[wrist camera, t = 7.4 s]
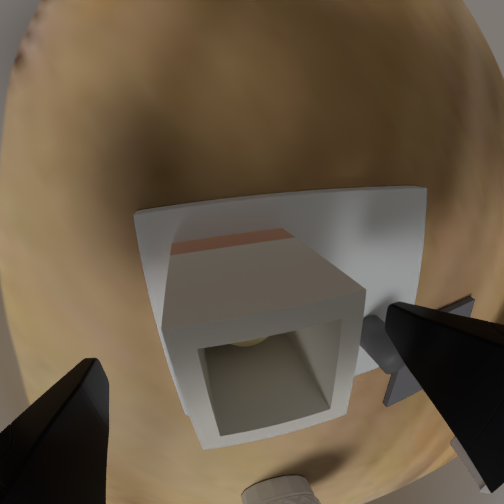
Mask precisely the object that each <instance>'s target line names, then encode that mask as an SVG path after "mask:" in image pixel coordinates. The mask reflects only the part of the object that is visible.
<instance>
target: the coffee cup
mask: <svg viewBox="0 0 504 504" xmlns="http://www.w3.org/2000/svg"><path fill="white" fill-rule="evenodd" d="M450 444H451V446H452V447H453V449H454V450H455V452H456V453H457V455H458V456H459V457H460V459H461V460H462V462H463V463H464V465H465V466H466V468H467V469H468V471H469V472H470V473H471V475H472V477H473V478H474V480H475V481H476V483H477V484H478V486H479V488H480V490H479V492H482V493H483V492H485V493H487V494H489V493H490V491H489V490H488V488H487V486H486V484H485V483H484V481H483V479H482V478H481V476H480V474H479V473H478V471H477V469H476V468H475V466H474V465H473V463H472V461H471V460H470V458H469V457H468V455H467V453H466V451H465V450H464V448H463V447H462V445H461V444H460V442H459V441H458V439H457V438H456V436H455V437H454V438H453V440H452V441H451V443H450Z"/></svg>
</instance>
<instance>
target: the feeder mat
mask: <svg viewBox="0 0 504 504" xmlns="http://www.w3.org/2000/svg"><path fill="white" fill-rule="evenodd" d="M474 301H475V299H473V298H472V297H468V298H466V299H464V300H461V301H459V302H457V303H455V304H453V305H450V306H448V307H446V308H443V309H441V310H439V311H444V312H448V313H452V314H457V315H461V316H466V317H470V315H471V312H472V308H473V305H474ZM420 390H422V387H421V386H420V384H419V383H418V382H417V380H416V379H415V378H414V376H413V375H412V373H411V372H410V371H409V369H408V368H407V366H406V365H404V366H403V367H402V368H401V369H400V370H399V371H397V372H395V373H393V374H392V375H391V379H390V382H389V385H388V388H387V392H386V395H385V398H384V401H383V404H384V405H385V406H386V407H388V406H390V405H392V404H394V403H397V402H399V401H401V400H403V399H405V398H407V397H409V396H411V395H412V394H414V393H416V392H418V391H420Z"/></svg>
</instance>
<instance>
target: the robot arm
mask: <svg viewBox="0 0 504 504" xmlns="http://www.w3.org/2000/svg"><path fill="white" fill-rule="evenodd" d="M384 328H385V332H386V334H387V335H388V337H389V339H390V340H391V342H392V344H393V345H394V347H395V349H396V350H397V352H398V354H399V355H400V357H401V359H402V360H403V362H404V363H405V365H406V366H407V368H408V369H409V371H410V372H411V373H412V375H413V376H414V378H415V379H416V380H417V382H418V383H419V384H420V386H421V387H422V389H423V390H424V391H425V393H426V394H427V396H428V397H429V398H430V400H431V401H432V403H433V404H434V405H435V407H436V408H437V410H438V411H439V413H440V414H441V416H442V417H443V418H444V420H445V421H446V423H447V424H448V426H449V427H450V429H451V430H452V432H453V433H454V435H455V436H456V438H457V439H458V441H459V442H460V444H461V445H462V447H463V448H464V450H465V451H466V453H467V455H468V457H469V458H470V460H471V461H472V463H473V465H474V466H475V468H476V469H477V471H478V473H479V474H480V476H481V478H482V479H483V481H484V483H485V484H486V486H487V488H488V490H489V491H490V492H491V493H493V492H494V491H495V490H496V489H497V488H498V487H500V486H501V485H502V484H503V483H504V325H502V324H497V323H493V322H490V323H489V322H488V321H483V320H479V319H474V318H470V317H466V316H461V315H457V314H452V313H448V312H444V311H439V310H435V309H430V308H426V307H422V306H418V305H413V304H409V303H405V302H400V301H398V302H395V303H392V304H390V305H389V306H388V307H387V312H386V318H385V324H384ZM108 437H109V382H108V379H107V376H106V374H105V372H104V370H103V368H102V365H101V363H100V361H99V360H98V359H97V358H85V359H83V360H82V361H81V362H80V363H79V364H77V365H76V366H75V367H74V368H73V369H72V370H70V371H69V372H68V373H67V374H66V375H65V376H63V377H62V378H61V379H60V380H59V381H58V382H57V383H55V384H54V385H53V386H52V387H51V388H50V389H49V390H47V391H46V392H45V393H44V394H43V395H42V396H41V397H40V398H38V399H37V400H36V401H35V402H34V403H33V404H32V405H31V406H29V407H28V408H27V409H26V410H25V411H24V412H23V413H22V414H21V415H19V416H18V417H17V418H16V419H15V420H14V421H13V422H12V423H11V425H8V426H7V427H6V428H5V429H4V430H3V431H2V432H1V433H0V504H106V467H107V450H108Z"/></svg>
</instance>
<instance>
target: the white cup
mask: <svg viewBox="0 0 504 504" xmlns="http://www.w3.org/2000/svg"><path fill="white" fill-rule="evenodd" d="M241 498H242V503H243V504H321V503H320V501H319V500H318V499H317V498H316V497H315V496H314V493H313V491H312V489H311V487H310V485H309V483H308V481H307V479H306V478H305V477H302V476H299V475H291V476H282V477H276V478H272V479H269V480H266V481H262V482H260V483H257V484H255V485H253V486H251V487H249V488H248V489H246V490H245V491H244V492H243V494H242V495H241Z"/></svg>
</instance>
